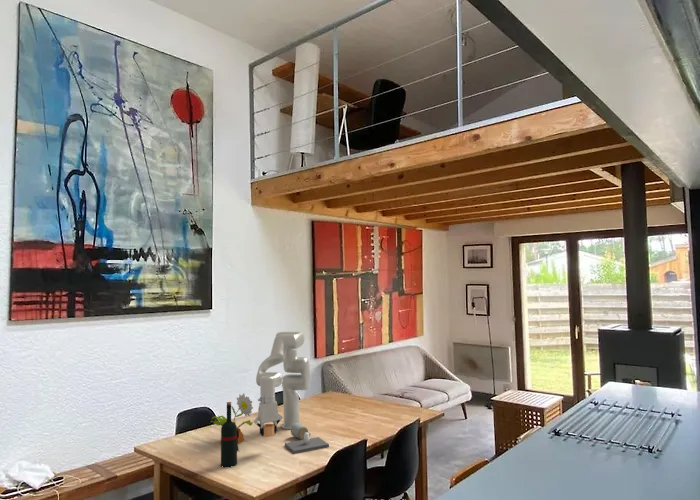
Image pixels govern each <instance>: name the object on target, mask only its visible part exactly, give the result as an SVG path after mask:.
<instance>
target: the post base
mask: <svg viewBox="0 0 700 500" xmlns="http://www.w3.org/2000/svg"><path fill="white" fill-rule="evenodd" d="M309 433H310V432H309ZM309 433H307V432H306V433H305V434H304V439H299V440H296V441H295V440H294V441H290V442H284V447H285V448H286V449H288V450H289V451H290V452H291V453H292V454H295V455H296V454H300V453H306V452H311V451H315V450H320V449H321V450H322V449H325V448H329V447H330V443H328V442H326V441H325V440H323V439H322V438H320V437H319V436H317V437H313V438H310V436H309Z"/></svg>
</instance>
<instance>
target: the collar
mask: <svg viewBox="0 0 700 500" xmlns="http://www.w3.org/2000/svg"><path fill="white" fill-rule="evenodd" d="M263 428H264V436H262V437H264V438H271V437H273V436H275V429H274V423H264V425H263Z"/></svg>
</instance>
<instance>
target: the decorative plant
mask: <svg viewBox="0 0 700 500" xmlns="http://www.w3.org/2000/svg"><path fill="white" fill-rule="evenodd" d="M236 400H237V401H236V405H237V406H238V407H237V408H238V410H237V411H235V408H234V406H232V405H231V411H232V412H233V414H234V418H233V422H234V423H235V424H236V421H235V420H236V418H238V417H241V416H243V415H244V416H245V417H247V416H248V417H250V416H251V414H252V413H253V411H252V410H253V409H254V407H253V404H252V403H253V401H252V400H251V399H250V397H249V396H246V395H245V393H244V392H243V393H242V394H241V393H240V394H239V396H238V397H236ZM239 411H240V413H239V414H238V412H239ZM213 420H214V421H213ZM212 422H213V425H216V426H220V427H222V425H223V424H224V423H225V422H227V417H225V416H224V415H218V416H216V415H215V416H212V418H211V421H210V423H212ZM245 424H247V425H249V427H250V426H253V424H254V421H252V422H251V420H249V419H248V420H246V421H243V422H242V423H240V424H239V425H238V426H237V431H239V438H237V441H238V443H239V444H241V442H242V443H244V442H245V437H244V433H243V432H242V430H241V426H243V425H245ZM243 441H244V442H243Z"/></svg>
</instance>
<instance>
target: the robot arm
mask: <svg viewBox="0 0 700 500" xmlns="http://www.w3.org/2000/svg"><path fill="white" fill-rule="evenodd" d="M304 342H305V335H304V333H303V332H302V331H280V332H277V333H276V334H275V337H274V340H273V344H272V348H271V351H270V355H268V357H266V358H265V359H264V360H263V361H262V362H261V363H260V365H259V367H258V369H257V373H256V378H255V382H256V383H255V384H257V386H258V387H259V388H260V391H259V392H260V396H259V398H258V399H257V402H258V411H257V416H256V418H255V419H254V420H253V424H255V425H257V427H258V428H259V434H260V436H262V437H263V436H264V428H263V425H264V424H270V423H272V424H274V429H275V434H277V432H278V428H277V427H278V425H279V423H280V421H281V420H282V419H283V423H281V425H280V427H281V428H282V429H284V430H291V427H292V426H293V425H294V424H295V423H300V424H302V423H301V421H300V398H299V394H298V392H297V391H308V390H309V388H310V386H311V375H310V361H309V359H308V358H307V357H305V356H304V357H302V356H301V357H300V356H297V354H298V353H297V349H298V348H301V347H302V346H303V344H304ZM282 363H283V371H284V372H285V373H288V374H285V375H283V374H282V373H280V372H273V371H268V370H269V369H270V368H272V367H275V366H277V365H279V364H282ZM267 371H268V372H267ZM290 373H291V374H290ZM279 386H281V387H282V394H283V416H282V415H281V414H280V413H279V408H278V402H277V400H276V392H275V390H276V389H275V388H278V387H279Z"/></svg>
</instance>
